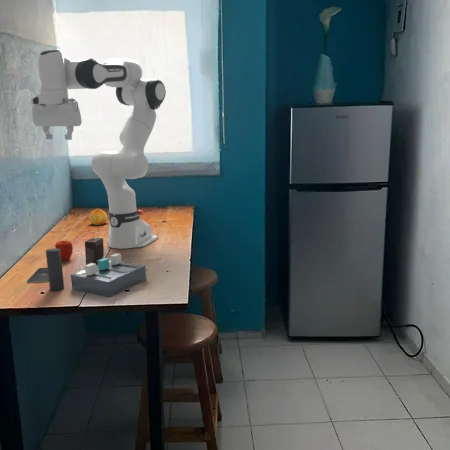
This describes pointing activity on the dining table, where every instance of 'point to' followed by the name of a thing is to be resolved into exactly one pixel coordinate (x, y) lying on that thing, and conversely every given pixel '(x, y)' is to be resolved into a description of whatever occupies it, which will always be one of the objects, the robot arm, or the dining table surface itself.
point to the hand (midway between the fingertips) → (58, 139)
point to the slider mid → (103, 264)
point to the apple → (64, 249)
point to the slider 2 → (115, 259)
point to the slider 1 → (90, 269)
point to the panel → (109, 279)
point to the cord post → (55, 269)
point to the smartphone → (39, 276)
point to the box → (94, 250)
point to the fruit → (98, 217)
